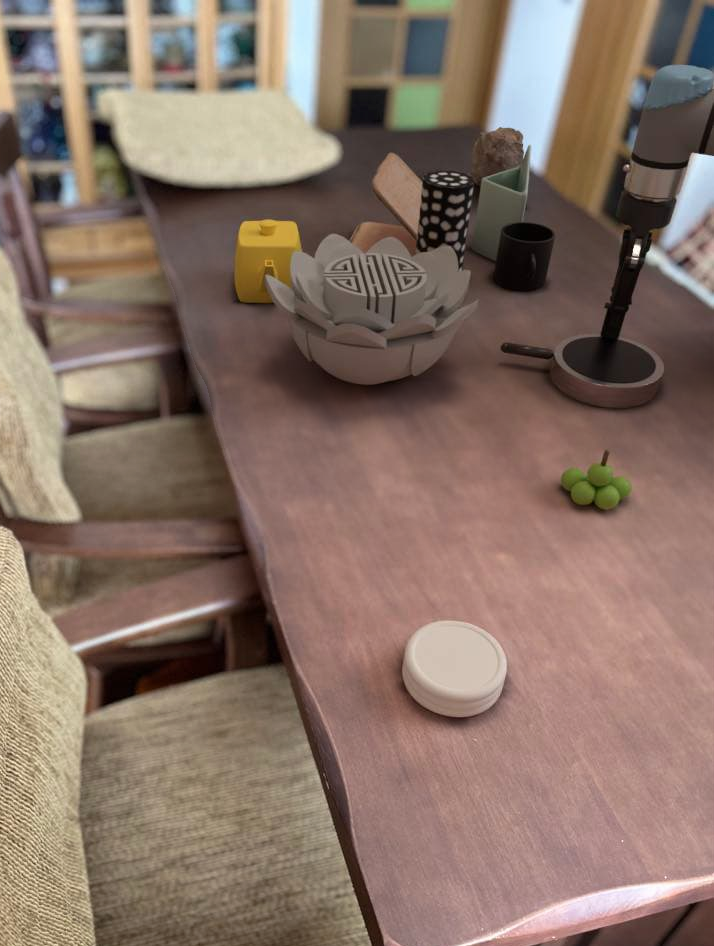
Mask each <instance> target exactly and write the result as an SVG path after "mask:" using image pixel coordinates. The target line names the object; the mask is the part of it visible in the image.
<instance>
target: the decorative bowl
mask: <svg viewBox="0 0 714 946" xmlns="http://www.w3.org/2000/svg"><path fill="white" fill-rule="evenodd" d="M470 279H471V270H469V269H462V271H460V272H458V260H457V255H456V253H455V251H454V249H453V248H452V247H451V246H442V247H439V248H436V249H434V250H432V251H431V252H422V253H418V254H416V255H414V256H413V257H411V255H410V253H409V252H408V250H407V249H406V247H405V246H404V245H403V244H402V242H400V241H399V240H398V239H396V238H394V237H387V238H384V239H382V240H380V241H379V242H377V243H376V244H374V245H373V246H372V247H371V248H370V249H369V250H368V251H367V252H366V254H364V253H363V252H362V251H361V250H360V249H358V248H357V247H356V246H354V245H353V244H352V243H351V242H350V241H349V240H348V239H347V238H345V237H344V236H343V235H340V234H338V233H330V234H328V235H327V236H325V238H323V239H322V241H321V242H320V244H319V245H318V247H317V248H316V251H315V253H314V257H312V256H311V255H309V254H308V253H306V252H303V251H302V252H300V251H295V252H294V253H293V255H292V258H291V264H290V280H291V285H292V289H291V288H290V287H288V286H287V285H285V284H283V283H282V282H280V281H279V280H277V279H275V278H274V277H272V276H270V275H266V276H265V284H266V287H267V290H268V292H269V294H270V296H271V298H272V300H273V302H274V303H273V304H274V305H275V307H276V308H277V309H278V310H279V312H280V313H281V314H282V315H283V316H284V317H285V318H287V322H288V326H289V329H290V332H291V335H292V337H293V339H294V341H295V343H296V345H297V347H298V348H299V350H300V352H301V353H302V354H303V355H304V357H305V358H306V359H307V360H308V361H309V362H310V363H312V362H315V363H316V364H317V365H319V366H320V367H321V368H322V369H323V370H324V371H325V372H327V373H328V374H330V375H331V376H333V377H335V378H337V379H339V380H342V381H344V382H348V383H351V384H357V385H365V386H367V385H379V384H383V383H386V382H392V381H397V380H400V379H403V378H406V377H408V376H411V375H412V376H413V377H416V376H419V375H420V374H422V373H423V372H425V371H427V370H428V369H429V368H431V367H432V366H433V365H434V364H436V362H437V361H439V359H440V358H441V357H442V356H443V355H444V354H445V352H446V351H447V350H448V348H449V346H450V345H451V343H452V342H453V340H454V337H455V335H456V332H457V330H458V327H459V326H460V325H461V324H462V323H463V322H465V320H467V319H468V318H469V317H470V316H471V315H472V314H473V313H474V312H475V311H476V310H477V309H478V304H479V299H477V300H476V301H474V302H471V303H470V304H467V305H465V306H462V307H461V305H462V303H464V302H463V301H464V300H465V298H466V295H467V293H468V290H469V286H470Z"/></svg>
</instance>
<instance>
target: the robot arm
mask: <svg viewBox="0 0 714 946" xmlns="http://www.w3.org/2000/svg"><path fill="white" fill-rule="evenodd" d="M692 154H698V155H702V156H703V155H704V156H710V157H714V73H713V71H712V70H710V69H708V68H705V67H699V66H695V65H690V64H670V65H666V66H663V67H661V68H659V69H658V70H657V71H656V72H655V73H654V75H653V76H652V79H651V82H650V85H649V88H648V92H647V95H646V98H645V101H644V104H643V105H642V111H641V115H640V119H639V122H638V127H637V132H636V135H635V139H634V144H633V147H632V152H631V155H630V157H631V158H630V160H629V164H625V165H623V167H622V171H623V172H624V173H626V175H625V179H624V184H623V187H624V190H622V191H621V194H620V197H619V201H618V204H617V208H616V212H615V217H616V220H618V222H620V224H622V225H625V226H627V227H626V228H624V229H623V233H622V236H621V246H620V250H619V253H618V266H617V268H616V269H617V270H616V273H615V278H614V282H613V285H612V287H611V290H610V291H611V295H610V296H609V302H605V303H604V307H603V309H606V312H605V316H604V320H603V323H602V327H601V330H600V334H606V335H613V336H618V337H620V335H621V331H622V328H623V324H624V321H625V317H626V314H627V313H628V311H629V310H630V306H632V304H633V299H632V297H633V294H634V291H635V288H636V285H637V282H638V279H639V276H640V274H641V270H642V269H643V267H644V265H645V260H646V257H647V254H648V253H649V252H650V250H651V247H652V242H653V238H652V236H653V232H651V231H652V230H660V229H663V228H665V227H667V226H669V225H670V223H671V221H672V218H673V215H674V212H675V208H676V204H677V202H678V200H677V198H676V197H677V196H679V195H680V194H681V193H680V192H681V190H682V186H683V184H684V180H685V177H686V174H687V170H688V168H689V162H690V158H691V155H692Z"/></svg>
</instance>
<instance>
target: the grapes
mask: <svg viewBox="0 0 714 946" xmlns="http://www.w3.org/2000/svg"><path fill="white" fill-rule="evenodd" d="M610 453H611V451H610V450H609V449H606V450H604V452H603V455H602V458H601V461H598V462H594V463H593V464H591V466H590V467H589V468H588V470H587V475H585V473H584V471H582V470H581V469H580V468H577V467H570V468H567V469H566V470H564V472H562V474H561V477H560V483H561V486H562V488H563V489H565V491H568V492H570V498H571V499H572V501H573V502H574V503H576V504H577V505H579V506H587V505H590V504H592V503H593V502H594V504H595V505H596V506H597V507H598V508H599V509H601V510H606V511H607V510H608V511H609V510H612V509H614V508H615V507H616V506H617V505H618V504H619V502H620V501H623V500H625V499H627V498H629V496H630V494H631V493H632V488H633V487H632V486H633V485H632V483H631V481H630V480H629V479H628V478H627V477H625V476H621V475H620V476H619V475H618V476H614V470H613V468H612V466H611V465H609V464H608V459H609V456H610Z"/></svg>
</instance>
